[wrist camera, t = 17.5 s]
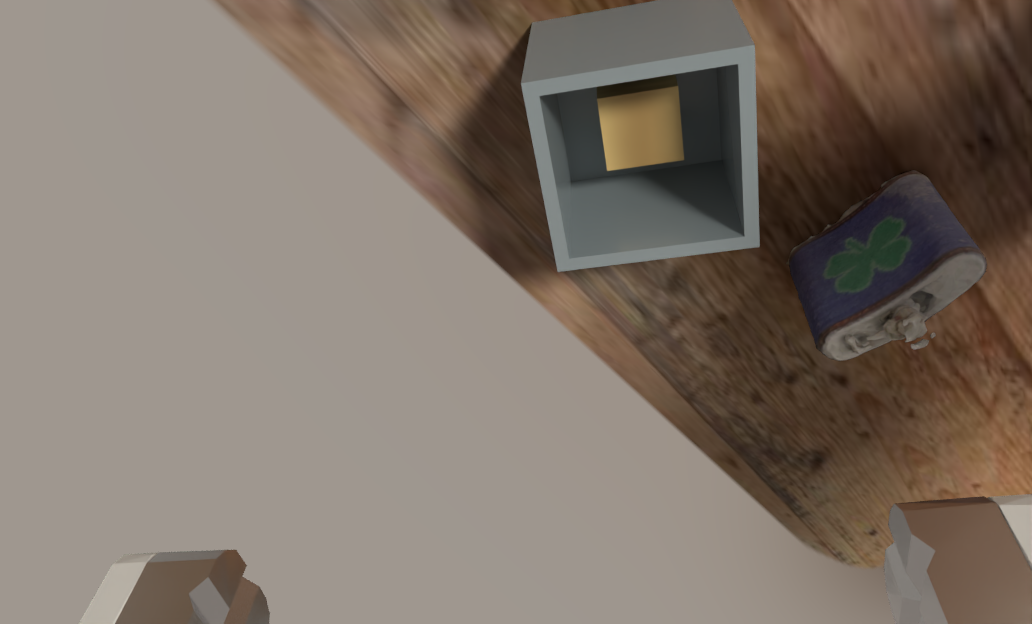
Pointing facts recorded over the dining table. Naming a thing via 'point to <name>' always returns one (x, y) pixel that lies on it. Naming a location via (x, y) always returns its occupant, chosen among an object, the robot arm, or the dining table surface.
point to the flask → (884, 269)
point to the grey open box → (659, 187)
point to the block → (641, 122)
